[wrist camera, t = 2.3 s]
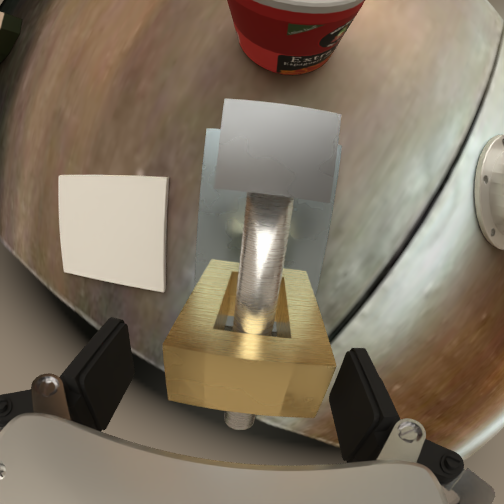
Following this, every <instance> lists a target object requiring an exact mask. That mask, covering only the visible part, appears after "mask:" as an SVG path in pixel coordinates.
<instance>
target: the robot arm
mask: <svg viewBox="0 0 504 504" xmlns="http://www.w3.org/2000/svg"><path fill="white" fill-rule="evenodd" d="M475 207H476V213H477V218H478V222H479V225H480V228H481V230H482V233H483V235H484V236H485V238H486V239H487V241H488V242H489V243H490V244H492V245H493V246H495V247H496V248H498V249H501V250H504V135H497V136H495V137H493V138H492V139H490V140H489V141H488V142H487V144H486V145H485V147H484V148H483V150H482V153H481V155H480V158H479V161H478V165H477V170H476V177H475ZM133 377H134V364H133V359H132V353H131V346H130V340H129V333H128V326H127V324H125V323H124V321H123V320H121V319H116V318H112V317H111V318H109V319H108V321H107V322H106V323H105V324H104V325H103V326H102V327H101V328H100V330H99V331H98V332H97V333H96V334H95V335H94V336H93V338H92V339H91V340H90V341H89V342H88V343H87V345H86V346H85V347H84V348H83V349H82V350H81V352H80V353H79V354H78V355H77V356H76V357H75V359H74V360H73V361H72V362H71V364H70V365H69V366H68V367H67V369H66V370H65V371H64V372H63V373H62V375H61V376H60V377H58V376H56V375H54V374H43V375H40V376H38V377H37V378H36V379H35V380H34V381H33V383H32V387H31V389H30V390H25V391H20V392H15V393H9V394H3V395H0V504H492V502H493V500H494V498H495V492H494V489H493V488H492V487H491V486H490V485H489V484H488V483H486V482H485V481H484V480H483V479H481V478H480V477H479V476H477V475H476V474H475V473H474V472H472V471H471V470H470V469H469V468H467V469H466V470H465V469H464V464H463V460H462V458H461V456H460V455H459V454H457V453H456V452H454V451H451V450H449V449H447V448H444V447H442V446H440V445H438V444H435V443H433V442H431V441H429V440H427V439H425V437H426V432H425V429H424V427H423V426H422V425H421V424H420V423H419V422H417V421H416V420H413V419H402V420H400V418H399V415H398V413H397V411H396V409H395V407H394V405H393V402H392V400H391V398H390V396H389V394H388V392H387V390H386V388H385V386H384V383H383V381H382V380H381V378H380V377H379V375H378V373H377V371H376V369H375V367H374V365H373V363H372V361H371V359H370V357H369V355H368V353H367V351H366V349H365V348H352V349H351V350H350V351H347V352H346V355H345V357H344V360H343V363H342V365H341V368H340V370H339V373H338V376H337V378H336V380H335V383H334V385H333V388H332V390H331V393H330V396H329V402H330V406H331V410H332V415H333V419H334V423H335V427H336V431H337V436H338V440H339V445H340V449H341V453H342V458H343V460H344V461H345V460H347V463H342V464H328V465H306V466H305V465H304V466H276V465H255V464H242V463H232V462H224V461H216V460H209V459H202V458H197V457H191V456H186V455H181V454H176V453H171V452H167V451H163V450H159V449H155V448H151V447H147V446H143V445H140V444H137V443H133V442H130V441H127V440H124V439H121V438H118V437H115V436H112V435H109V434H106V433H103V432H101V431H102V430H105V429H106V428H107V426H108V424H109V422H110V420H111V418H112V416H113V414H114V412H115V410H116V409H117V407H118V405H119V403H120V401H121V399H122V397H123V395H124V394H125V392H126V390H127V388H128V386H129V384H130V382H131V381H132V379H133Z"/></svg>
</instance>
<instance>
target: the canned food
mask: <svg viewBox="0 0 504 504" xmlns="http://www.w3.org/2000/svg"><path fill="white" fill-rule="evenodd" d="M227 1H228V4H229V8H230V11H231V15H232V18H233V22H234V25H235V29H236V33H237V36H238V40H239V44H240V46H241V47H242V49H243V51H244V52H245V53H246V55H247V56H248V57H249V58H250V59H251V60H253V61H254V62H255V63H256V64H258V65H259V66H261V67H263V68H265V69H267V70H269V71H272V72H275V73H279V74H285V75H297V74H303V73H307V72H310V71H313V70H315V69H317V68H319V67H321V66H322V65H323V64H324V63H326V62H327V60H328V59H329V58H330V56H331V55H332V53H333V52H334V50H335V48H336V47H337V45H338V43H339V42H340V40H341V39H342V37H343V35H344V34H345V32H346V31H347V29H348V27H349V26H350V24H351V23H352V21H353V19H354V18H355V16H356V15H357V13H358V11H359V10H360V8H361V7H362V5H363V3H364V1H365V0H227Z"/></svg>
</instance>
